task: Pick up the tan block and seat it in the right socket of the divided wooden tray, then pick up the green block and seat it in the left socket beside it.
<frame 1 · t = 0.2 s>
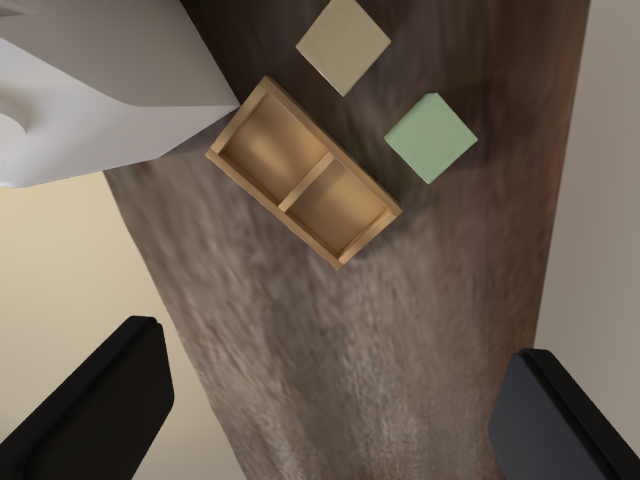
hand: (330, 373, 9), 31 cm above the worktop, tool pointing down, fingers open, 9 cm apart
milk: (166, 83, 35), on the worktop
divided wooden tray: (308, 178, 38), on the worktop
tan block: (343, 51, 33), on the worktop
green block: (422, 136, 35), on the worktop
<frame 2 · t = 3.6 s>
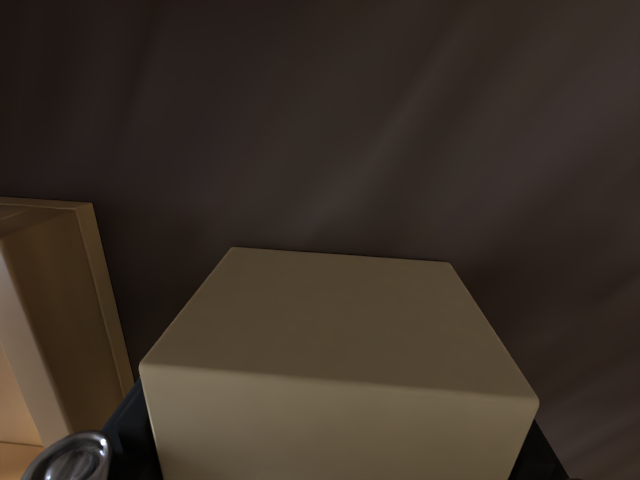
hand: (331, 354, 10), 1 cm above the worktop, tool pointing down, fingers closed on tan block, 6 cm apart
divided wooden tray: (22, 435, 13), on the worktop
tan block: (332, 340, 10), on the worktop, touching gripper
when the fingers open (3 cm above the worktop, at t = 19.4 s): tan block drops 2 cm, resting on divided wooden tray.
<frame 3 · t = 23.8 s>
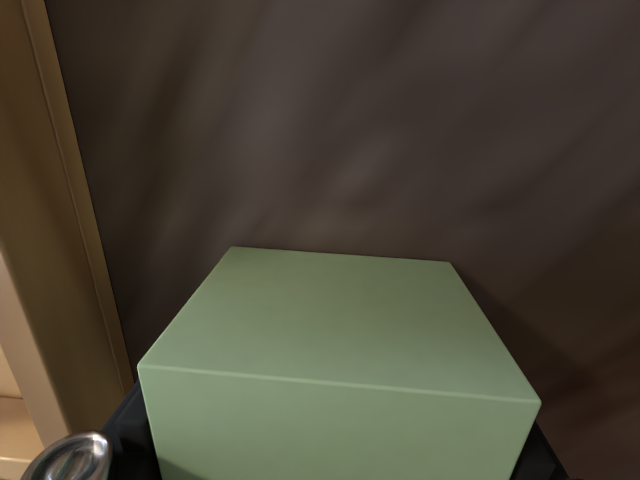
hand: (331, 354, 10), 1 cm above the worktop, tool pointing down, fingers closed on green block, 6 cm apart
green block: (332, 340, 10), on the worktop, touching gripper
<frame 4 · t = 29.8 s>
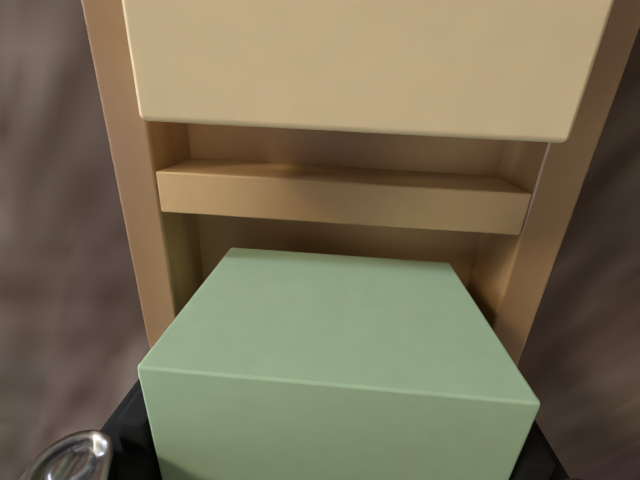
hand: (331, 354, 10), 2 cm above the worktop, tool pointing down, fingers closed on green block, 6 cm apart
divided wooden tray: (339, 179, 10), on the worktop
green block: (332, 341, 10), point 2 cm above the worktop, touching gripper
when the fingers open (3 cm above the worktop, at t = 39.8 s): green block drops 2 cm, resting on divided wooden tray.
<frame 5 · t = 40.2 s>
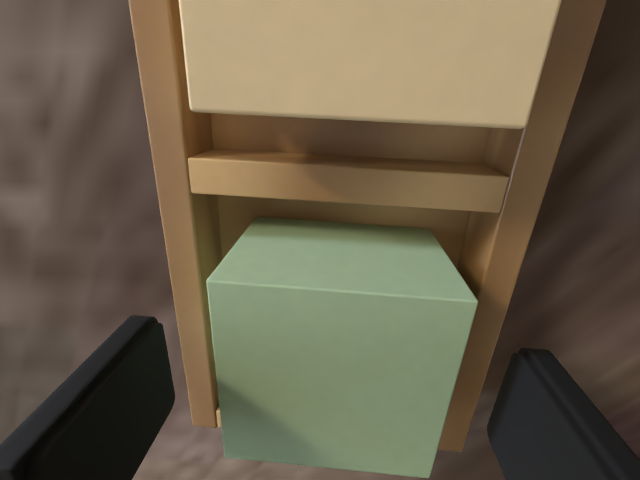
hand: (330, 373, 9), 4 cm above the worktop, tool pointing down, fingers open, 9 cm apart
divided wooden tray: (343, 167, 11), on the worktop
green block: (336, 295, 12), point 1 cm above the worktop, touching divided wooden tray
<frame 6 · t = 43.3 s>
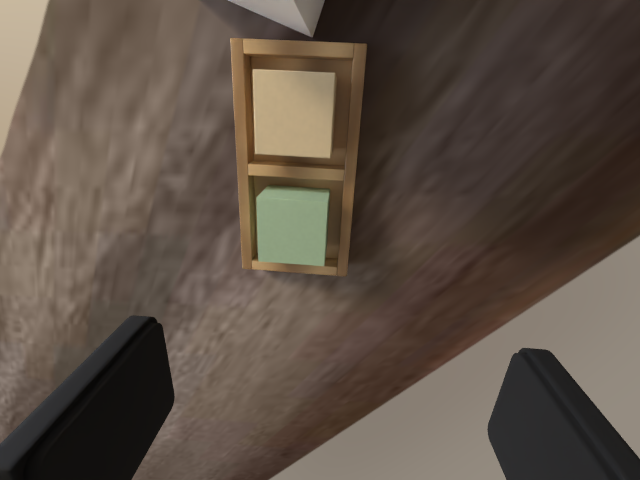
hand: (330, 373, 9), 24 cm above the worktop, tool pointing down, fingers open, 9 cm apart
divided wooden tray: (299, 167, 31), on the worktop
tan block: (300, 113, 29), point 1 cm above the worktop, touching divided wooden tray
green block: (298, 216, 32), point 1 cm above the worktop, touching divided wooden tray
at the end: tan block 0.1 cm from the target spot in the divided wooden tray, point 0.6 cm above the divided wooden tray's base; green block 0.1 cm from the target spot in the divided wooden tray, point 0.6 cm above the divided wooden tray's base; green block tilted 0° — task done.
